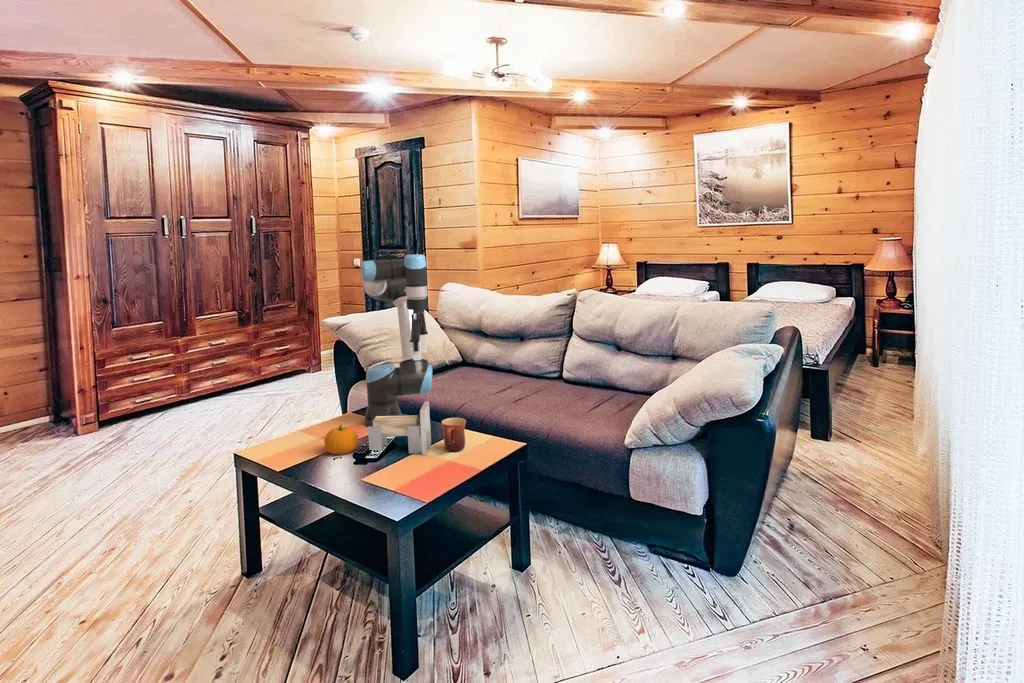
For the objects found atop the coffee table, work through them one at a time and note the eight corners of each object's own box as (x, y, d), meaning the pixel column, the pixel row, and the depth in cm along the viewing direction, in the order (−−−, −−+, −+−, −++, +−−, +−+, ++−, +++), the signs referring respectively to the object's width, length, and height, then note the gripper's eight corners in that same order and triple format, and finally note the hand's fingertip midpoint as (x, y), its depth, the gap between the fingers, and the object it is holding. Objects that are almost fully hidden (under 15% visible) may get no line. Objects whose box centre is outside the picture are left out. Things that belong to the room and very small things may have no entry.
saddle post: (374, 446, 223) (372, 420, 221) (387, 446, 223) (385, 419, 221) (369, 454, 215) (367, 427, 213) (382, 454, 215) (380, 426, 213)
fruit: (355, 443, 227) (353, 417, 225) (362, 453, 216) (360, 426, 215) (322, 449, 222) (320, 422, 220) (328, 459, 211) (325, 432, 210)
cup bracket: (413, 443, 225) (411, 401, 222) (431, 443, 225) (429, 401, 222) (407, 455, 213) (405, 411, 210) (426, 455, 213) (424, 410, 210)
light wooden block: (377, 432, 220) (376, 416, 219) (419, 431, 220) (418, 415, 219) (374, 436, 216) (373, 420, 214) (417, 435, 215) (416, 419, 214)
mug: (446, 444, 223) (445, 417, 222) (470, 445, 222) (468, 418, 220) (436, 456, 212) (435, 427, 210) (460, 457, 210) (459, 428, 208)
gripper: (412, 294, 232) (415, 349, 236) (400, 302, 208) (403, 363, 212) (432, 294, 232) (434, 349, 236) (422, 301, 208) (425, 363, 212)
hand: (420, 356), depth 224 cm, fingers open, 13 cm apart
